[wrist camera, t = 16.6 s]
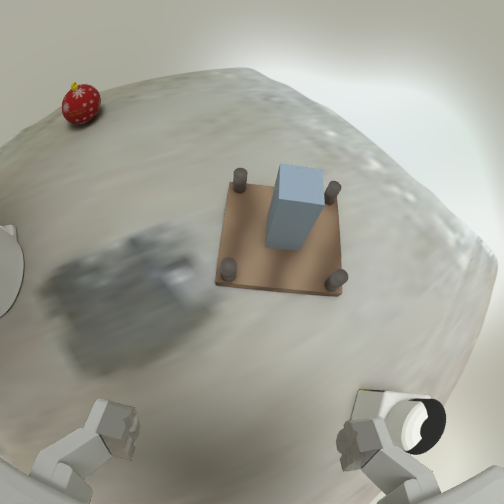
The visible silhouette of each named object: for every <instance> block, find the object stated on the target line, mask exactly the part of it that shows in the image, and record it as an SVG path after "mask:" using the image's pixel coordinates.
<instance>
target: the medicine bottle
mask: <svg viewBox="0 0 504 504" xmlns="http://www.w3.org/2000/svg"><path fill="white" fill-rule="evenodd" d="M430 398H431V396H430V395H423V394H412V393H402V392H393V391H381V390H366V389H360V390H359V391H358V394H357V398H356V402H355V406H354V410H353V413H352V417H351V420H356V419H363V418H372V417H378V416H379V417H382V418H383V420H384V422H385V425H386V427H387V430H388V432H389V435H390V437H391V440H392V442H393V445H394V446H398V447H400V448H401V449H402V450H404V451H405V452H407V453H410V454H413V455H418V454H422V453H425V452H427V451H428V450H430V449H431V448H432V447H433V446H434V445H435V444H436V443H437V442H438V441H439V439H440V438H441V436H442V434H443V432H444V429H445V425H446V414H445V410H444V407H443V405H442V404H441V403H440V402H439V401H437V400H435V399H430Z"/></svg>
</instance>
